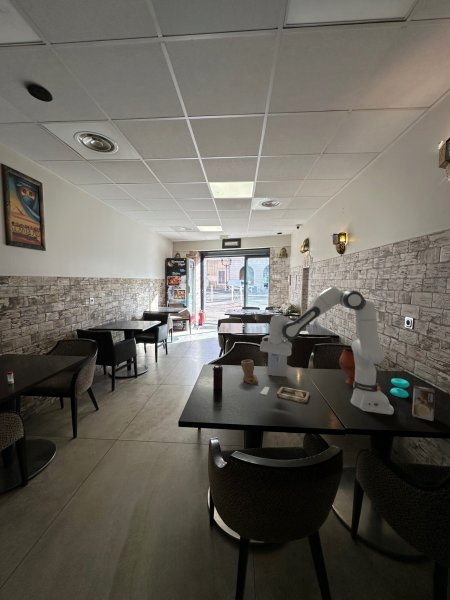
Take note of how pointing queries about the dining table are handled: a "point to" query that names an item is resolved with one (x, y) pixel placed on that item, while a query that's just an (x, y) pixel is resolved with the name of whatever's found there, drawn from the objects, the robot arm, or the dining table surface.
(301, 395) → the offcut upper
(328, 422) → the dining table surface
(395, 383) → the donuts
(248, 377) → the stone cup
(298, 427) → the dining table surface
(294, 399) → the wooden tray
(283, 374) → the grey box
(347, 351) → the terracotta vase
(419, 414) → the grey picture frame
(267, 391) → the mat
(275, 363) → the blue grey block
